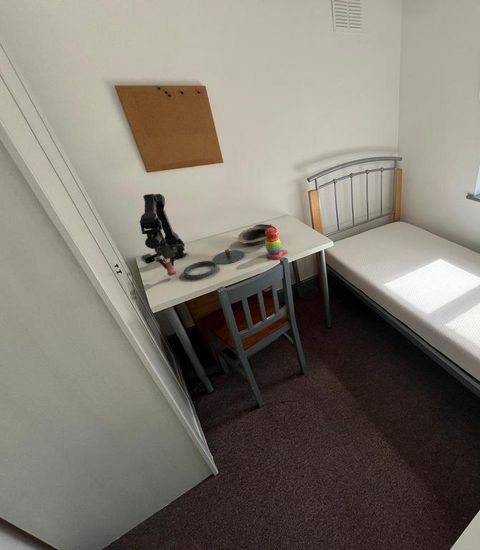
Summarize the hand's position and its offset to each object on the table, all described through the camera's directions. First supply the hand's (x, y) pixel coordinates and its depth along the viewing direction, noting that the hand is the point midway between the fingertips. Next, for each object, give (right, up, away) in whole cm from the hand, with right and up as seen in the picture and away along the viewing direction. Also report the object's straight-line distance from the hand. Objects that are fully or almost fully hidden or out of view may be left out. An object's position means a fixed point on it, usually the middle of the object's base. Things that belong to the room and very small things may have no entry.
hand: (169, 267), depth 155 cm
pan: (+13, -3, +9) cm, 16 cm away
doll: (0, -3, +2) cm, 4 cm away
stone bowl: (+32, +18, +42) cm, 56 cm away
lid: (+21, +7, +23) cm, 32 cm away
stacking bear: (+49, +8, +26) cm, 56 cm away
